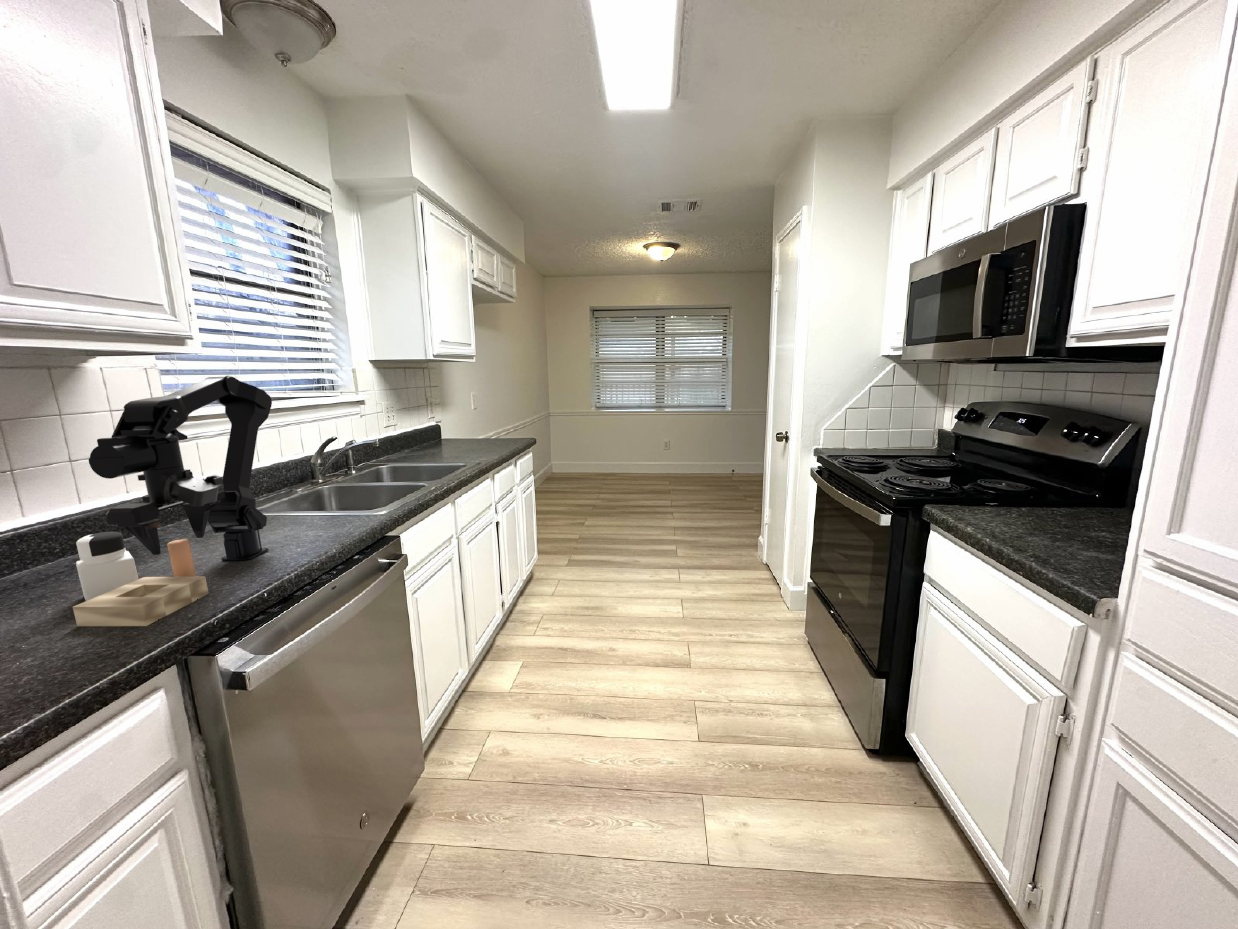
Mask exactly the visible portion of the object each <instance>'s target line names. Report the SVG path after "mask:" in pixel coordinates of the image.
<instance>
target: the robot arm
mask: <svg viewBox="0 0 1238 929" xmlns="http://www.w3.org/2000/svg"><path fill="white" fill-rule="evenodd" d="M214 402H216V403H218V404H220V405H221V406H223V407H224V413H225V415H226V417H227V419H228V420H229V422H230V426H231V427H230V431H229V438H228V444H227V450H226V455H225V463H224V468H223V473H222V476H220V475H217V474H212V475H208V476H207V477H206V478H204V477H203V478H194V476H193V471H191V469H185V468H184V467H185V466H184V463H183V457H182V453H181V452H182V451H181V447H180V442H179V441H186V440H188V438H189V436H188V435H186V434H184V433H182V432H180V430H178V428H180V426H182V425H183V424H185V423H186V422H187V420H188V419H189V415H191V413H193V412H195V411H197V410H199V409H201V408H203V407H206V406H207V405H208V406H209V405H210V404H211V403H214ZM272 405H273V400H272V398H271V396H270V395H269V394H268V393H267V392H266V391H265V390H264V389H261V388H259V387H258V386H255V385H253V384H249V383H248V382H247V383H246V382H244V381H241V380H239V379H237V378H236V377H234V376H232V375H210V376H208V377H206V378H205V379H203V380H201V381H198V382H196V383H194V384H192V385H188V386H187V387H184V388H181V389H179V390H176V391H174V392H171V393H170V394H167V395H162V396H155V397H148V398H147V397H146V398H142V399H140V398H139V399H136V400H132V401H128V402H127V403H125V404H124V405H123V411H122V413H121V416H120V418H119V420H118V421H117V424H116V427H115V429H114V431H113V432H112V435H111V437H101V438H97V439H96V443H97V446H96V447H94V448H93V449H92V450H91V452H90V455H89V458H88V464H89V467H90V468H91V470H92V472H94V473H95V475H97V476H99V477H101V478H103V479H107V480H108V479H115V478H120V477H125V476H129V475H134V474H138V473H141V474H138V475H136V476H137V480H138V482H139V481H144V482H145V486H146V491H147V492H146V493H147V495H144V496H142V497H141V498H142V502H140V503H139V502H136V503H135V502H134V503H126V504H122V505H118V506H115V507H110V508H109V509H108V511H107V512H106V513H105V516H106V521H107V524H108V525H110V526H111V525H112V526H113V525H116V527H117V528H123V529H125V530H126V531H127V532H129V533H130V534H131V535H132V536H134V537H135V538H136V539H137V540H138V541H139V542H140V543H141V544H142V545H143V546H144V547H145V548H146V549H147V550H148V551H149V552H150V553H151V554H152V555H154V556H158V555H161V542H160V536H159V531H158V527H159V525H160V524H161V522H162V521H163V519H161V518H158V517H159V515H160V512H162V511H164V510H165V511H166V510H169V509H173V508H176V507H179V506H182V507H183V510H184V512H185V515H186V517H187V520H188V522H189V524H190V526H191V529H192V531H193V534H194V535H195V537H196V539H202V538H204V536H205V533H206V532H205V531H206V527H207V524H209V526H210V527H211V529H212V531H213V533H214V534H219V533H223V534H222V535H223V546H224V550H225V556H222V557H220V560H221V561H247V560H251V559H254V558H255V557H257V556H259V555H261V554H264V553H265V552H268V551H269V550H270V548H269V547H262V541H261V540H262V539H261V535H260V530H263V529H264V528H266V526H267V520H268V517H267V516H266V515H265V514H264V513H262V511H260V510H258V508H256V506H257V505H256V504H257V503H256V498H255V495H253V493H252V491H251V488H250V484H251V477H252V471H253V466H254V465H253V464H254V458H255V452H256V447H257V446H256V444H257V438H258V431H259V428H260V427H261V426H262V425H263V424H264V423H265V421H267V419H268V418H269V415H270V412H271V408H272Z"/></svg>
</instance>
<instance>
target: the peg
mask: <svg viewBox="0 0 1238 929" xmlns="http://www.w3.org/2000/svg"><path fill="white" fill-rule="evenodd" d="M166 545H167V549H168V553H169V560H170V563H171V568H172V569H171V570H172V573H173V577H192V576H197V573H196V569H195V568H196V567H195V563H194V562H195V561H194V558H193V557H194V556H193V553H192V548H191V543H190V539H189V538H183V539H176V540H172V541H170V542H167V544H166Z"/></svg>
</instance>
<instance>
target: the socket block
mask: <svg viewBox="0 0 1238 929" xmlns="http://www.w3.org/2000/svg"><path fill="white" fill-rule="evenodd" d="M207 595H209V589H208V584H207V579H206V576H204V575H203V576H198V575H196V576H192V577H174V576H144V577H141V578H138V580H136V581H133V582H131V583H129V584H126V585H124V586H121V587H119V588H117V589H114V590H112V591H109V592H107V593H105V594H102V595H100V596H97V597H95V598H93V599H90V600H88V601H86V600H85V601H83V602H81V603H79V604H76V605H74V606H72V610H73V614H74V618H75V623H76V626H77V627H147V626H149V625H151V624H153V623H156V622H157V621H159V620H160V619H163V618H165V617H167V616H169V615H171V614H172V613H175V612H176V611H178V610H180V609H182V608H184V607H186V606H188V605H190V604H191V603H194V602H196V601H198V600H200V599H202V598H203V597H206V596H207ZM197 599H198V600H197ZM158 619H159V620H158Z"/></svg>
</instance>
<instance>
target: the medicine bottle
mask: <svg viewBox="0 0 1238 929" xmlns="http://www.w3.org/2000/svg"><path fill="white" fill-rule="evenodd" d="M75 544H76V548H77V552H78V556H79V560H77V561H76V562H75V566H76V569H77V575H78V579H79V582H80V587H81V591H82V594H83V597H84V600H85V601H88V600H90V599H93V598H95V597H97V596H100V595H102V594H105V593H107V592H109V591H112V590H114V589H117V588H119V587H121V586H124V585H126V584H129V583H131V582H133V581H136V580H138V579H139V576H138V572H137V571H138V570H137V567H136V563H135V558H134V557H133V556H132V555H131V553H130V551H129V550H127V549H126V544H125V540H124V536H123V534H122V533H121V532H120V531H119V532H118V531H101V532H97V533H96V532H95V533H92V534H87V535H85V536H83V537H80V538H79V539H78V540H77V541H76V542H75Z"/></svg>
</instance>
